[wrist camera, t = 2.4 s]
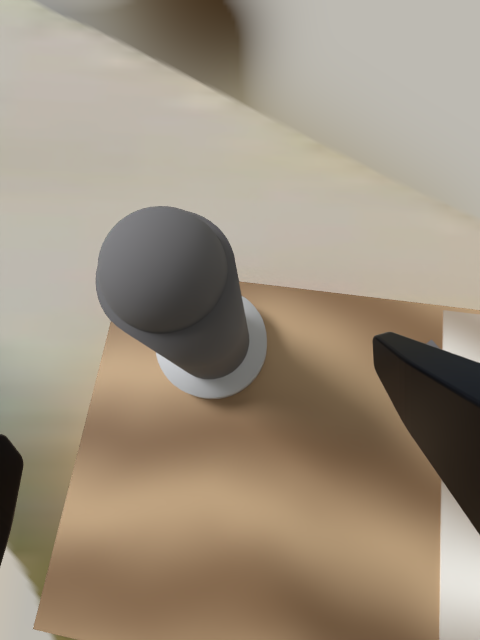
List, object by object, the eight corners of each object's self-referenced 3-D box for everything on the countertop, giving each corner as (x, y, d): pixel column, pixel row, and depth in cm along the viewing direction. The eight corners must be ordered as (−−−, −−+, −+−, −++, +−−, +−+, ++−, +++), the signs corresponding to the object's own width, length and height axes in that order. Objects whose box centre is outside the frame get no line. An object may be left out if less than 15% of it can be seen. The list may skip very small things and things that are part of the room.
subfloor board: (598, 735, 14) (640, 774, 13) (52, 611, 17) (30, 631, 15) (567, 331, 19) (595, 322, 17) (133, 278, 21) (123, 266, 19)
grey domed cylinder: (258, 407, 17) (248, 382, 7) (152, 390, 18) (-7, 344, 7) (273, 302, 19) (282, 149, 8) (173, 290, 19) (63, 131, 9)
